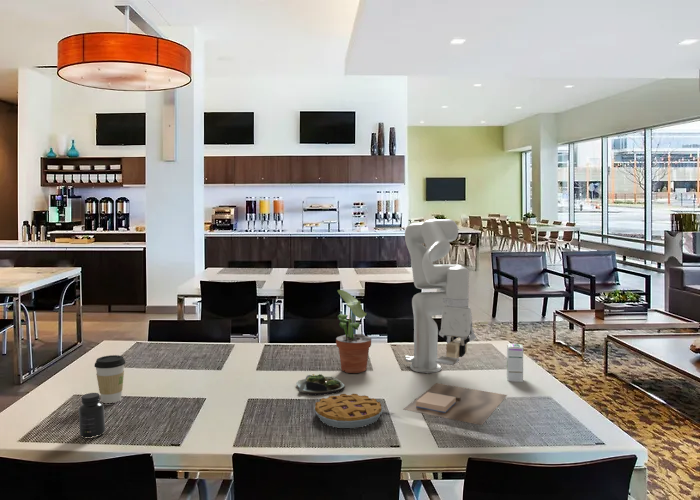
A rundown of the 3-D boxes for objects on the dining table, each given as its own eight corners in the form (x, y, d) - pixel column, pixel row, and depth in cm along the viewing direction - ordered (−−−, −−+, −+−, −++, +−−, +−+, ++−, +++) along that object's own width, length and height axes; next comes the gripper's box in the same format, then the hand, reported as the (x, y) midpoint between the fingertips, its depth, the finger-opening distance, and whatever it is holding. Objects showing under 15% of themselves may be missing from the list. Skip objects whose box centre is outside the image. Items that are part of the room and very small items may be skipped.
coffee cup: (133, 398, 197) (131, 356, 195) (112, 407, 187) (110, 363, 186) (110, 394, 200) (108, 353, 199) (89, 404, 191) (87, 361, 189)
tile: (427, 397, 192) (416, 407, 184) (427, 392, 192) (416, 401, 184) (455, 402, 187) (445, 412, 179) (455, 397, 187) (445, 406, 179)
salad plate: (288, 382, 215) (287, 370, 215) (332, 377, 221) (332, 365, 221) (301, 398, 197) (301, 386, 196) (349, 392, 203) (349, 380, 202)
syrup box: (523, 385, 209) (524, 347, 208) (506, 384, 210) (507, 346, 209) (521, 381, 215) (522, 343, 213) (505, 380, 216) (506, 342, 215)
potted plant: (328, 374, 223) (328, 287, 220) (343, 363, 237) (343, 281, 234) (365, 378, 218) (365, 289, 214) (378, 367, 232) (378, 283, 228)
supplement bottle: (85, 430, 169) (83, 391, 168) (108, 429, 170) (106, 390, 169) (76, 440, 162) (74, 399, 161) (100, 439, 163) (98, 398, 162)
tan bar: (452, 365, 183) (452, 350, 182) (435, 362, 186) (435, 347, 186) (470, 352, 198) (470, 338, 198) (454, 350, 201) (454, 336, 201)
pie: (332, 437, 165) (332, 420, 164) (303, 412, 184) (303, 397, 184) (395, 423, 175) (395, 407, 174) (361, 401, 194) (361, 387, 194)
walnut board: (402, 413, 182) (402, 406, 182) (436, 386, 208) (436, 380, 208) (481, 429, 169) (481, 421, 169) (507, 399, 195) (507, 392, 195)
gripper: (430, 302, 194) (430, 354, 196) (477, 306, 186) (476, 361, 187) (439, 299, 201) (438, 350, 202) (484, 303, 192) (483, 356, 194)
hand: (456, 354), depth 195 cm, fingers closed on tan bar, 3 cm apart
